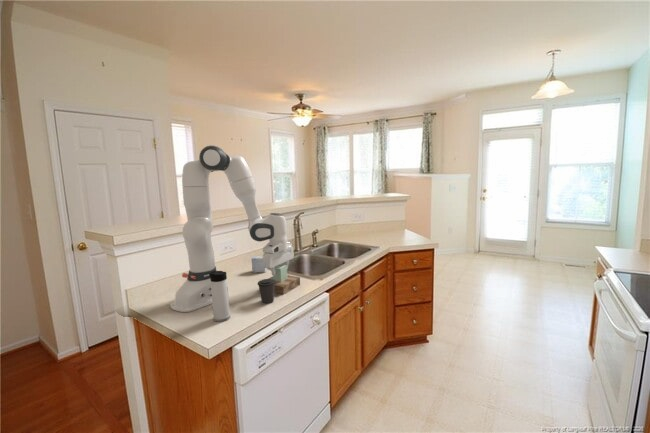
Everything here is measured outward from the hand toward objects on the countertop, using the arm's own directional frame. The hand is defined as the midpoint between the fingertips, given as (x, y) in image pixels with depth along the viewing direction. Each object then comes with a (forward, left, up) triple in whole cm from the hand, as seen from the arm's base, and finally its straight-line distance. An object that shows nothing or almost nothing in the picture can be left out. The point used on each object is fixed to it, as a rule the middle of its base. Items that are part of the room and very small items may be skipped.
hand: (280, 271), depth 151 cm
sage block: (0, 0, -4) cm, 4 cm away
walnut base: (0, 0, -8) cm, 8 cm away
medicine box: (+14, +27, -8) cm, 32 cm away
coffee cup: (-16, -5, -8) cm, 19 cm away
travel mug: (-37, +1, -8) cm, 38 cm away
